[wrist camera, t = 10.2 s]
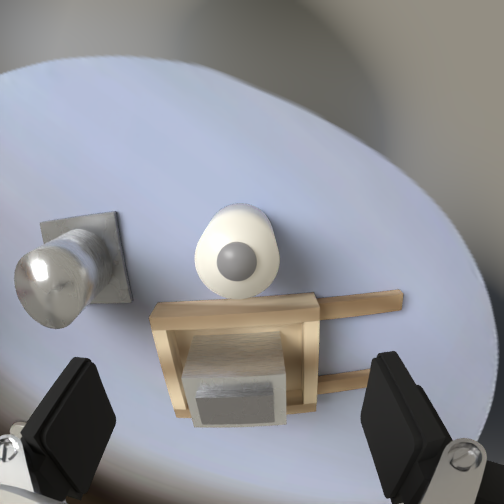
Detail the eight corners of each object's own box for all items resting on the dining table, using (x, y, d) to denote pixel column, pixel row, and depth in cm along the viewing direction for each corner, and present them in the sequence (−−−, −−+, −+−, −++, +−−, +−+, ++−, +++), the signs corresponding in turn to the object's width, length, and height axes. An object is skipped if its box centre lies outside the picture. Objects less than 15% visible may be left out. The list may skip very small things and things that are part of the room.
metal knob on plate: (133, 300, 27) (103, 342, 21) (61, 301, 28) (24, 337, 21) (115, 211, 25) (74, 232, 18) (42, 221, 25) (-5, 243, 18)
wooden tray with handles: (385, 381, 30) (393, 398, 28) (181, 399, 31) (176, 417, 28) (399, 283, 27) (412, 296, 24) (157, 302, 27) (148, 317, 25)
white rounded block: (275, 264, 26) (282, 298, 20) (211, 269, 27) (200, 304, 20) (270, 200, 25) (277, 216, 19) (203, 206, 25) (187, 224, 19)
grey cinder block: (281, 379, 29) (287, 431, 23) (202, 382, 29) (192, 434, 23) (279, 331, 28) (286, 381, 21) (193, 335, 28) (179, 384, 21)
